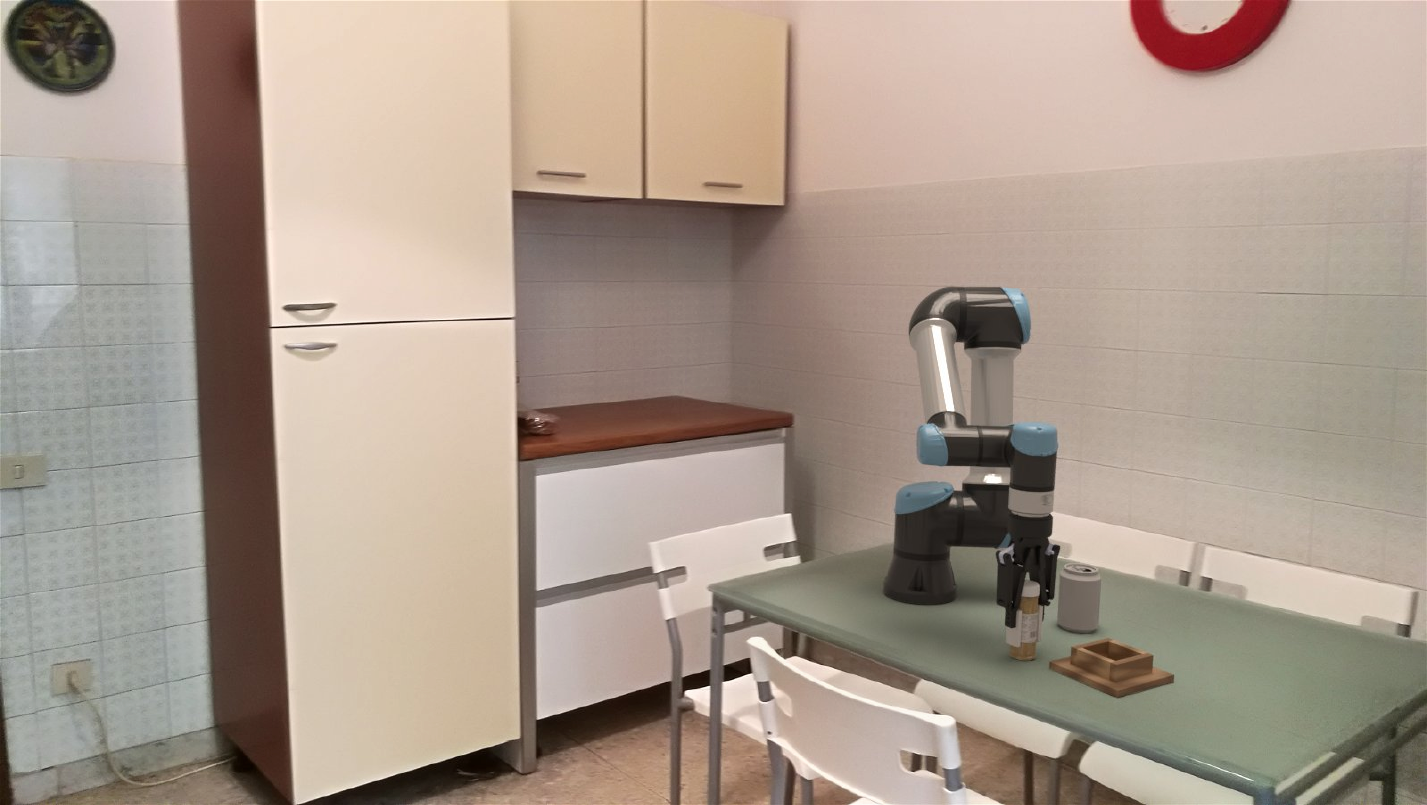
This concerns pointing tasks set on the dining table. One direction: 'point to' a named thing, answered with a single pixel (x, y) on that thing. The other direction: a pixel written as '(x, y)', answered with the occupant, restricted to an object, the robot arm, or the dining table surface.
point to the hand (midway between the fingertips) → (1023, 641)
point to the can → (1079, 598)
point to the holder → (1112, 667)
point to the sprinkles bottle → (1028, 622)
